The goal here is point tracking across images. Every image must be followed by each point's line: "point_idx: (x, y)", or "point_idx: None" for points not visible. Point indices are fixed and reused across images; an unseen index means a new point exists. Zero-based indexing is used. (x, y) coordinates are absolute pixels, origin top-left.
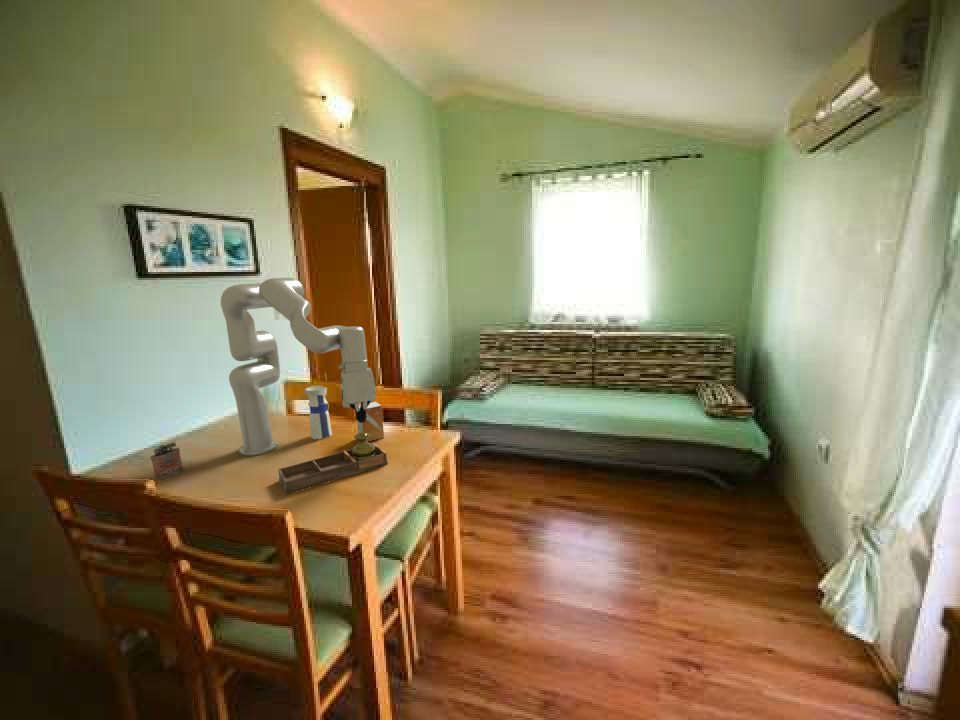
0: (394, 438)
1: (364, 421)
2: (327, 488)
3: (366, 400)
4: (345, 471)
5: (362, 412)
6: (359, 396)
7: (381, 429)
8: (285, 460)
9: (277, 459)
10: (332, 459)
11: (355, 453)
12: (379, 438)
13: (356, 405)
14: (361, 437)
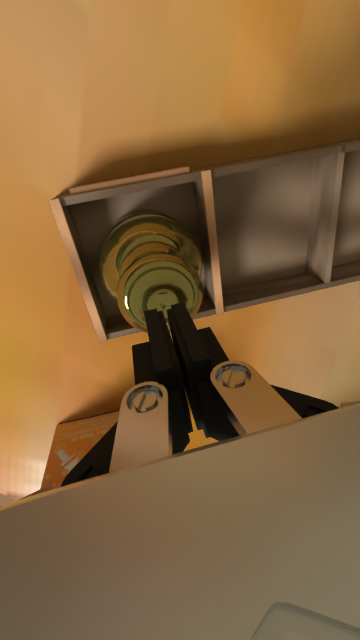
0: (18, 411)
1: (153, 309)
2: (314, 91)
3: (126, 471)
4: (241, 162)
5: (176, 356)
6: (347, 572)
7: (57, 450)
8: (335, 374)
9: (347, 386)
10: (256, 290)
11: (193, 238)
12: (72, 422)
13: (270, 414)
14: (171, 259)
